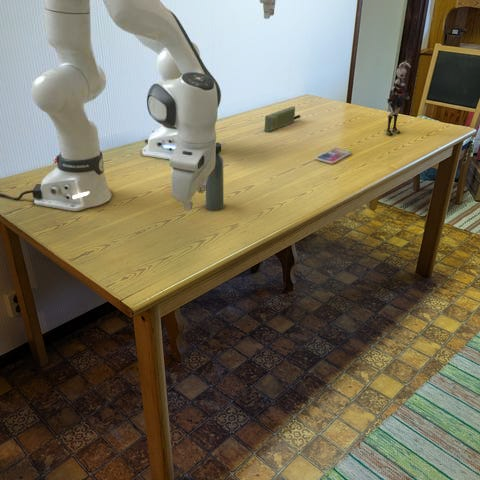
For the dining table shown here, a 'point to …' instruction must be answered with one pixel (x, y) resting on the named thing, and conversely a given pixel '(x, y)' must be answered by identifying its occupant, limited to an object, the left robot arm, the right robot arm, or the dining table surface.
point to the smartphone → (333, 155)
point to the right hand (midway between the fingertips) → (268, 16)
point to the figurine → (397, 97)
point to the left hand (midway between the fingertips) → (194, 200)
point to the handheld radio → (280, 119)
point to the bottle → (215, 186)
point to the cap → (218, 148)
